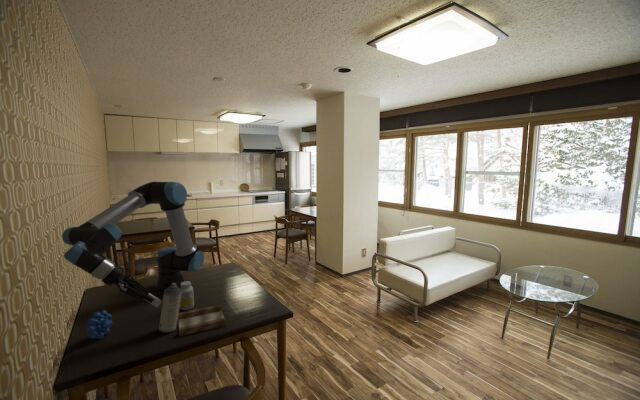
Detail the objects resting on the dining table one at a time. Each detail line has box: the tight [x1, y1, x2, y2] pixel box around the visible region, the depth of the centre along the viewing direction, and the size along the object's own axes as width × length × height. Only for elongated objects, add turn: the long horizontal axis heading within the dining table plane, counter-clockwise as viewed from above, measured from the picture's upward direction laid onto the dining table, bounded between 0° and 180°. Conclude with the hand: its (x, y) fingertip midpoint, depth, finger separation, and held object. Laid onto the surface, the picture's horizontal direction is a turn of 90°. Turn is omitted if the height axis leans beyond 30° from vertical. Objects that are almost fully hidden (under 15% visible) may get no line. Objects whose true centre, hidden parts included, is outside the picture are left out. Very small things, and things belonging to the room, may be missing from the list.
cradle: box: [178, 304, 228, 337], centre depth 131 cm, size 19×16×3 cm
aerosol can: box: [158, 283, 182, 334], centre depth 124 cm, size 7×7×20 cm
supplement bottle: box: [179, 280, 195, 311], centre depth 144 cm, size 7×7×13 cm
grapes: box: [85, 309, 114, 340], centre depth 118 cm, size 12×7×12 cm, turn 175°
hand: (159, 304), depth 122 cm, fingers closed
